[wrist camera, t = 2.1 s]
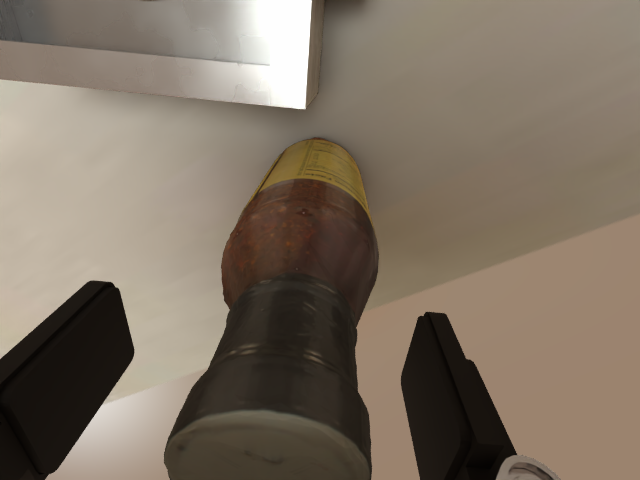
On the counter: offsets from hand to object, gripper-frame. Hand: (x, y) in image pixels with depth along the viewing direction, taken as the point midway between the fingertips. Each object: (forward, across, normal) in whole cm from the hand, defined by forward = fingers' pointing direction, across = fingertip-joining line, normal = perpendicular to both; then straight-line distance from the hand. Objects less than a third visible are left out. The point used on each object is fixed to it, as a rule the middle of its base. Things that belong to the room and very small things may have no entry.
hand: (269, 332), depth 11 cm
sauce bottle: (+16, -1, 0) cm, 16 cm away
